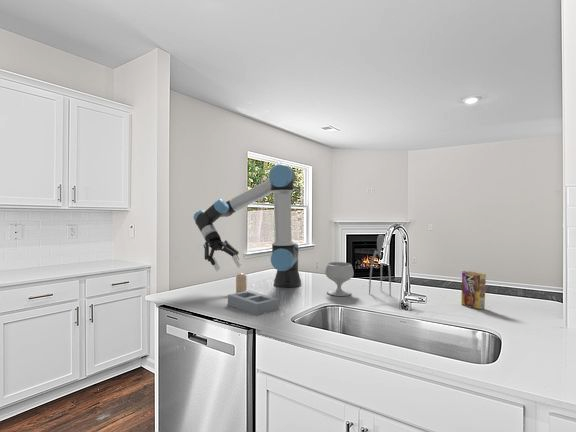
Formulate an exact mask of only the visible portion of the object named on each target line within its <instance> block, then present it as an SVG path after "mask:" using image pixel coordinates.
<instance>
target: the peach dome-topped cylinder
mask: <svg viewBox="0 0 576 432" xmlns="http://www.w3.org/2000/svg"><path fill="white" fill-rule="evenodd" d="M247 278H248V277H247V275H246V274H245V273H244V272H240V273H238V274H237V275H236V276H235V293H240V292H245V291H247V280H248V279H247Z"/></svg>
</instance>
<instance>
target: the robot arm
mask: <svg viewBox="0 0 576 432" xmlns="http://www.w3.org/2000/svg"><path fill="white" fill-rule="evenodd" d="M295 182H296V172H295V171H294V169H293V168H291V167H290V166H289V165H287V164H284V163H283V164H282V163H278V164H276V165H274V166H272V168H271V169H270V171H269V173H268V179H266V180H265V181H263V182H261V183H259V184H258V185H255V186H253V187H252V188H250V189H248V190H246V191H244V192H242V193H240V194H238V195H236V196H235V197H233V198H231V199H229V200H227V201H225V200H224V199H223V198H220V199H217V200H216V201H215V202H214V203H212V205H210V206H209V207H208V208H207V209H205V210H204V209H201V210H199V211H196V212H195V213H194V214H193V217H192V218H193V220H194V222H195V224H196V226H197V228H198V230H199V231H200V233H201V235H202V237H203V239H204V241H205V242H204V243H203V245H202V246H203V248H204V260H205V261H207V262H210V264H211V266H212V267H213V268H214V270H215V272H218V271H219V270H220V269H221V266H220V265H219V263H218V261H217V260H216V258H215V256H214V254H215V251H216V252H217V251H221V252H225V253H226V254H228V255H229V256H231V258H232V260H233V262H234V264H235V265H236V267H237V268H240V267H241V266H242V262H241V261H240V258H239V256H238V255H239V253H240V252H239V251H238V250H237V249H236V248H235V247H234V246H232V245H231V244H230V243H229V242H228V240H224V241H222V239H221V235H220V234H219V232H218V230H217V229H216V227H215V225H214V223H215V222H216V221H217V220H219V218H226V217H227V218H228V217H230V216H232V215H233V214H234V213H236V212H237V211H240V210H242V209H245V208H246V207H247V206H249V205H252V204H254V203H255V202H258V201H259V200H261V199H263V198H265V197H267V196H270V195H271V194H273V206H274V207H273V208H274V212H273V213H274V214H273V215H274V242H273V243H272V244H271V249H272V251H271V252H272V253H271V256H270V263H271V265H272V267H273V268H274V269H275V270H276V274H275V277H274V279H273V285H274V286H276V287H279V288H296V287H301V285H302V279H301V276H300V273H299V249H300V248H299V245H298V243H295V242H294V241H293V239H292V199H291V197H292V195H291V194H292V193H293V192H294V190H295V189H294V187H295V186H294V184H295Z"/></svg>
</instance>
